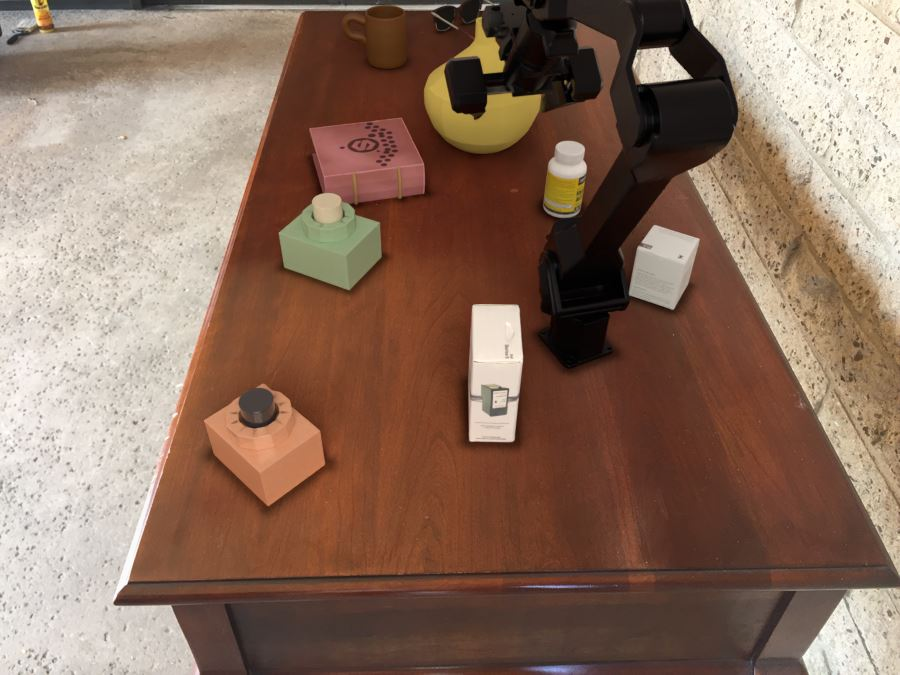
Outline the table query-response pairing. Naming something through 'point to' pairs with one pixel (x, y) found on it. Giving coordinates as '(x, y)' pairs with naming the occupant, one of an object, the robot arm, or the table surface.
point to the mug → (381, 35)
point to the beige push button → (327, 208)
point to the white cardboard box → (663, 266)
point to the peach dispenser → (267, 448)
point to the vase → (503, 112)
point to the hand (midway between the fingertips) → (508, 113)
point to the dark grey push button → (257, 407)
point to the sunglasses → (448, 14)
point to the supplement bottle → (565, 180)
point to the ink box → (494, 372)
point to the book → (368, 161)
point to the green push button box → (331, 247)
